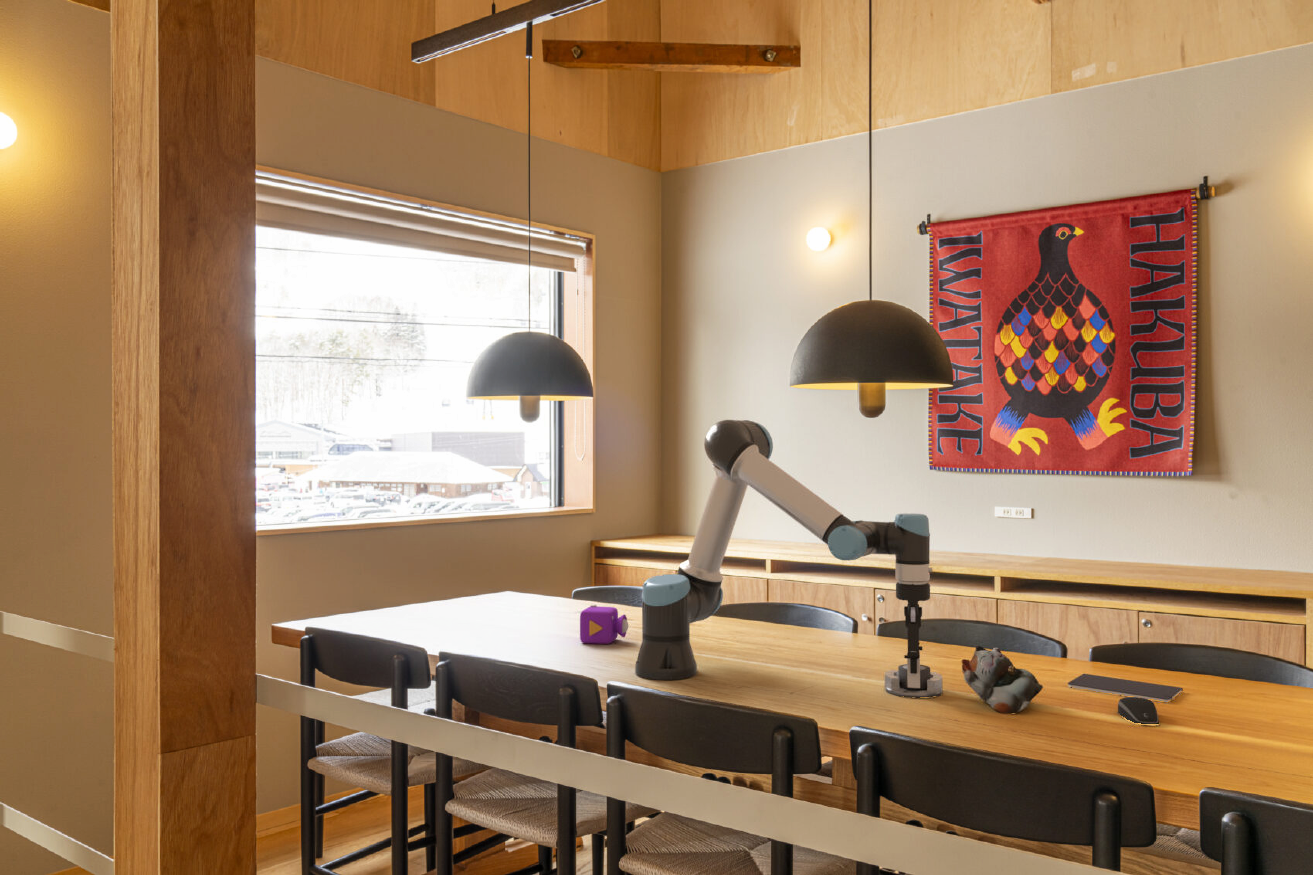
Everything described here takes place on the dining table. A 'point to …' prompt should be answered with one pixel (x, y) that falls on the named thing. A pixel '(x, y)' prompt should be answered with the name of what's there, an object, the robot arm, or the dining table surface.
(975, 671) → the lucky cat figurine
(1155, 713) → the computer mouse
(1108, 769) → the dining table surface
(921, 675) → the cylinder
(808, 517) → the robot arm
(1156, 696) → the notebook
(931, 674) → the barrel ring
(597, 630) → the toy camera
